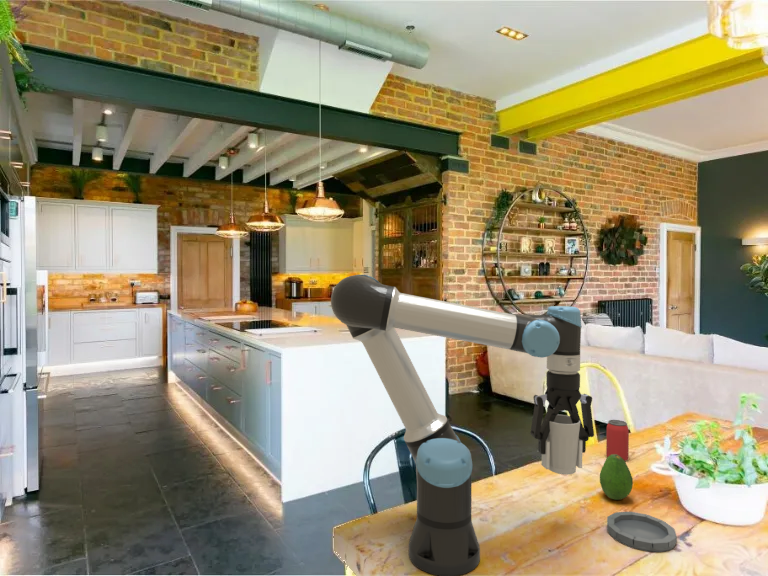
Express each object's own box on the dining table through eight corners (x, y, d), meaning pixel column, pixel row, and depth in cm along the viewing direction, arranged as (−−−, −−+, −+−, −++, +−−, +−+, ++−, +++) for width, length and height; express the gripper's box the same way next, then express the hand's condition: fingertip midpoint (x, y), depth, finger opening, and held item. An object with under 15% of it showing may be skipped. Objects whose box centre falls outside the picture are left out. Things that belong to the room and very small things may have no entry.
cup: (582, 477, 112) (583, 425, 112) (546, 474, 114) (547, 423, 113) (576, 464, 120) (576, 415, 120) (542, 461, 122) (542, 413, 121)
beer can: (612, 453, 165) (612, 418, 164) (632, 459, 160) (632, 422, 159) (602, 458, 160) (602, 421, 160) (622, 464, 155) (623, 426, 155)
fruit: (632, 495, 133) (632, 451, 133) (633, 507, 126) (633, 461, 126) (599, 490, 137) (600, 447, 136) (599, 502, 129) (599, 457, 129)
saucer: (630, 554, 105) (630, 544, 105) (595, 521, 119) (595, 513, 119) (690, 550, 107) (690, 541, 107) (649, 518, 121) (649, 510, 121)
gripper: (528, 375, 111) (527, 474, 112) (612, 373, 114) (610, 471, 114) (516, 368, 119) (514, 461, 119) (595, 367, 121) (593, 459, 122)
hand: (561, 466), depth 117 cm, fingers closed on cup, 7 cm apart
